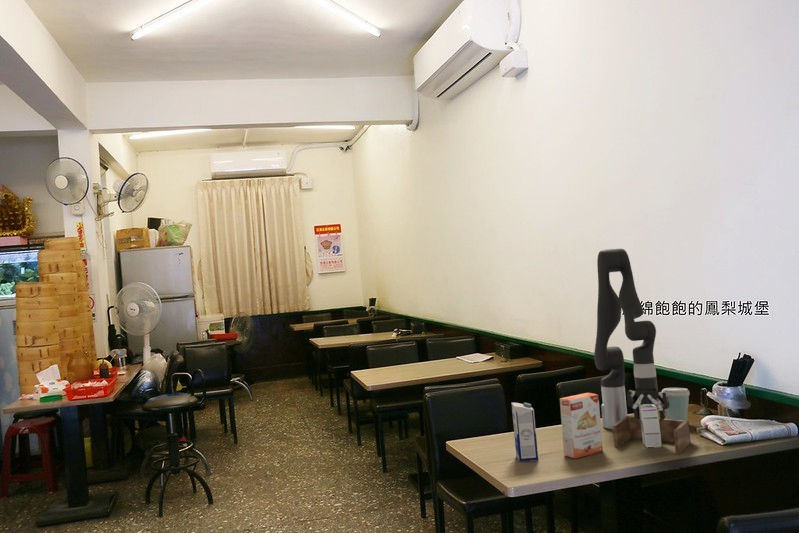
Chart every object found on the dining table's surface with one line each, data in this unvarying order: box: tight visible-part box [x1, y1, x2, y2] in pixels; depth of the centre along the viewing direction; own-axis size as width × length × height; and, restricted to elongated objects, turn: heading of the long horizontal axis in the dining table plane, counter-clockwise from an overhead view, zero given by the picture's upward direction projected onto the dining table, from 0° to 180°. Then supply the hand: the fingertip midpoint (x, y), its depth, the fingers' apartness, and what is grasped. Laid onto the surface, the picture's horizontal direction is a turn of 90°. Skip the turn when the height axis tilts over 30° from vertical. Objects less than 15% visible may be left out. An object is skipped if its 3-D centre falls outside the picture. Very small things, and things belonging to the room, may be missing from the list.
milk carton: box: [511, 402, 539, 462], centre depth 211 cm, size 7×7×20 cm
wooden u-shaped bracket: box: [612, 415, 691, 455], centre depth 214 cm, size 22×15×8 cm
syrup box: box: [638, 403, 663, 448], centre depth 214 cm, size 6×6×14 cm
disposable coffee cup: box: [661, 387, 691, 421], centre depth 238 cm, size 11×11×15 cm
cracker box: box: [559, 392, 604, 460], centre depth 211 cm, size 14×6×21 cm, turn 117°
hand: (649, 419), depth 214 cm, fingers open, 8 cm apart
